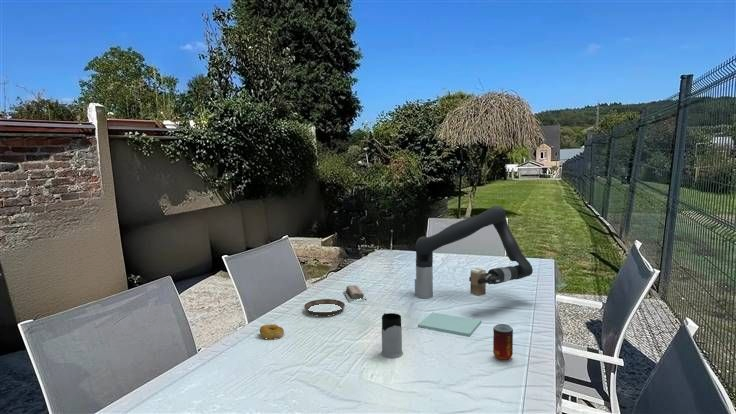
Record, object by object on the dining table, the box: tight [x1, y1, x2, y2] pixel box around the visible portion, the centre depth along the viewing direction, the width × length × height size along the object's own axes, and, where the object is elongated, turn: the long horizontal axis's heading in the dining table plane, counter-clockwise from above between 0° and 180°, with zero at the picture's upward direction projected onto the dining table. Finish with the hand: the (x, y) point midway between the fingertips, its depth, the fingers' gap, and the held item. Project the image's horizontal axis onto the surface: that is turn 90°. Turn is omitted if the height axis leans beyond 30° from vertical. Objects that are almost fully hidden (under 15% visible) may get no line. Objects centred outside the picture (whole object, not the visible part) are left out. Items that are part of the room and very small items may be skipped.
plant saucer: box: [304, 298, 346, 317], centre depth 223 cm, size 21×21×3 cm
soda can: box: [492, 323, 514, 362], centre depth 165 cm, size 7×7×12 cm
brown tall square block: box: [469, 267, 487, 297], centre depth 210 cm, size 5×5×12 cm
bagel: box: [259, 323, 285, 340], centre depth 192 cm, size 10×11×5 cm
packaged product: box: [343, 285, 367, 302], centre depth 245 cm, size 18×5×10 cm
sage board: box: [417, 311, 482, 337], centre depth 200 cm, size 24×18×1 cm
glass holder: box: [380, 312, 404, 359], centre depth 173 cm, size 9×14×15 cm, turn 15°
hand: (474, 280), depth 208 cm, fingers closed on brown tall square block, 5 cm apart
